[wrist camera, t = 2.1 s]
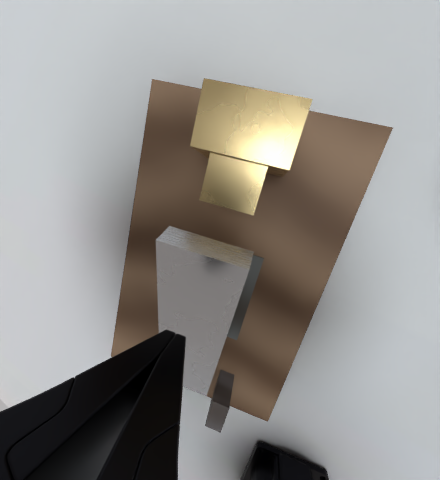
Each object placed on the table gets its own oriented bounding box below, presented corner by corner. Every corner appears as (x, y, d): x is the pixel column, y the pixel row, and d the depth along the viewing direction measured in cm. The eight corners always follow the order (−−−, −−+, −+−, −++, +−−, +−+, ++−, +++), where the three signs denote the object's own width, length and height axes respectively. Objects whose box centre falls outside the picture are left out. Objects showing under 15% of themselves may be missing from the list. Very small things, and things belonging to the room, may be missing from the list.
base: (267, 407, 18) (268, 462, 15) (119, 347, 20) (86, 381, 17) (381, 133, 13) (431, 106, 9) (160, 88, 15) (125, 50, 11)
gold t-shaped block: (270, 215, 14) (272, 221, 10) (198, 195, 14) (180, 195, 11) (299, 125, 12) (312, 99, 9) (218, 108, 13) (203, 78, 10)
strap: (211, 379, 17) (206, 396, 16) (167, 361, 18) (160, 376, 17) (253, 251, 9) (249, 269, 8) (169, 225, 9) (155, 240, 9)
